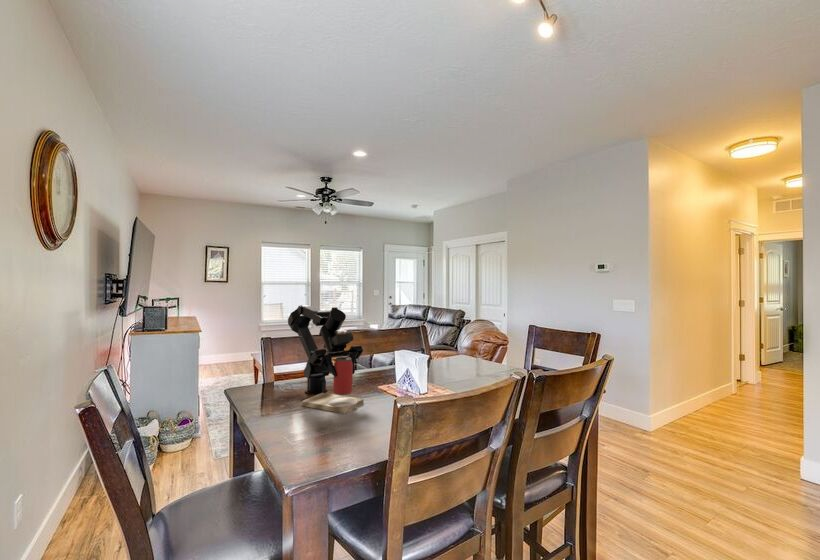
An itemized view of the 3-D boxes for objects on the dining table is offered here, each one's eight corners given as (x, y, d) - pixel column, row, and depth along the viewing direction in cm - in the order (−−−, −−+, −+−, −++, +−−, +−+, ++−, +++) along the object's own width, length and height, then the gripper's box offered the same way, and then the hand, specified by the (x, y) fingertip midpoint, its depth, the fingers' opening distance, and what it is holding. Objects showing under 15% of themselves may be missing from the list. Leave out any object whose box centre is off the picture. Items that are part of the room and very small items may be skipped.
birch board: (301, 405, 138) (301, 400, 138) (322, 396, 149) (322, 392, 149) (346, 413, 130) (346, 408, 130) (364, 403, 141) (364, 398, 141)
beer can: (353, 390, 141) (354, 356, 141) (351, 395, 134) (351, 360, 134) (334, 389, 141) (335, 356, 140) (331, 395, 134) (332, 360, 134)
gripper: (314, 326, 134) (328, 364, 126) (361, 323, 146) (377, 358, 137) (304, 345, 141) (317, 383, 132) (350, 341, 152) (364, 375, 144)
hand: (345, 374), depth 136 cm, fingers closed on beer can, 7 cm apart
